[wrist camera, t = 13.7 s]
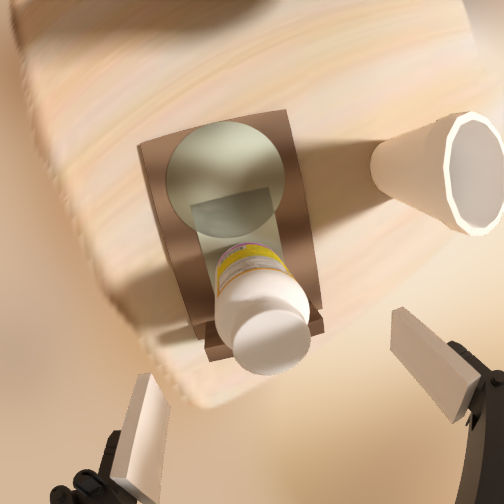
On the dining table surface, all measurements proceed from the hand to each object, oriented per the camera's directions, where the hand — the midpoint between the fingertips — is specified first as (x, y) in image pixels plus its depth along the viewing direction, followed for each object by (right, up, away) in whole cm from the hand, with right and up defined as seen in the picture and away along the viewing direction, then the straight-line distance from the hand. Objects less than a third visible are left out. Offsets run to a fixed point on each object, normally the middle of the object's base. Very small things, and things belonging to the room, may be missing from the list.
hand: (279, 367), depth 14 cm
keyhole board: (-3, +8, +14) cm, 16 cm away
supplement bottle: (-2, +4, +15) cm, 15 cm away
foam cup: (+14, +15, +14) cm, 25 cm away
